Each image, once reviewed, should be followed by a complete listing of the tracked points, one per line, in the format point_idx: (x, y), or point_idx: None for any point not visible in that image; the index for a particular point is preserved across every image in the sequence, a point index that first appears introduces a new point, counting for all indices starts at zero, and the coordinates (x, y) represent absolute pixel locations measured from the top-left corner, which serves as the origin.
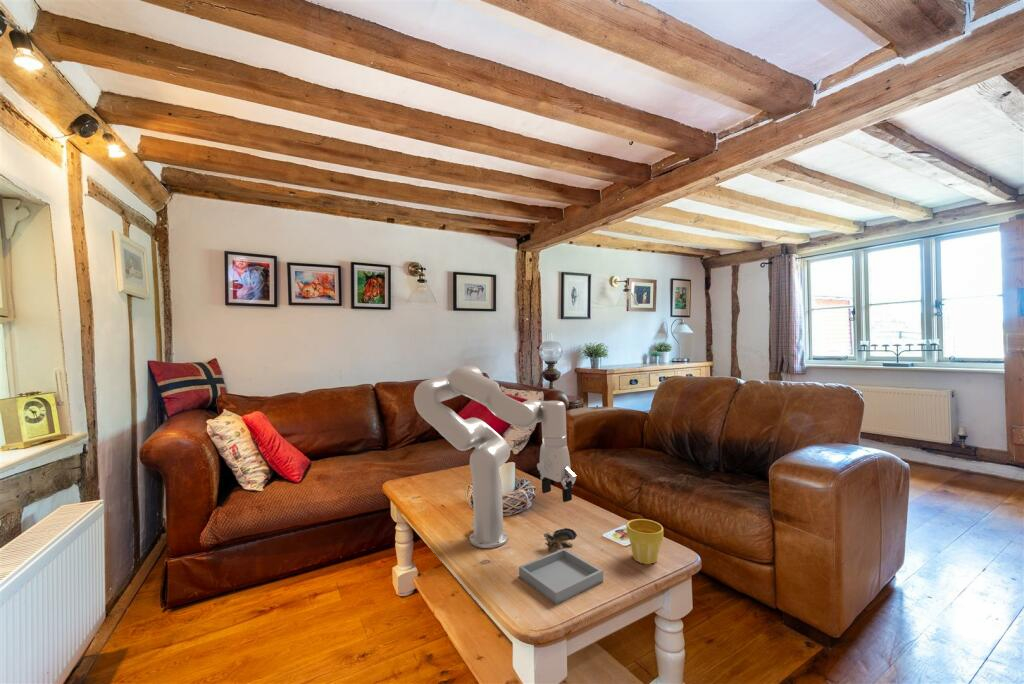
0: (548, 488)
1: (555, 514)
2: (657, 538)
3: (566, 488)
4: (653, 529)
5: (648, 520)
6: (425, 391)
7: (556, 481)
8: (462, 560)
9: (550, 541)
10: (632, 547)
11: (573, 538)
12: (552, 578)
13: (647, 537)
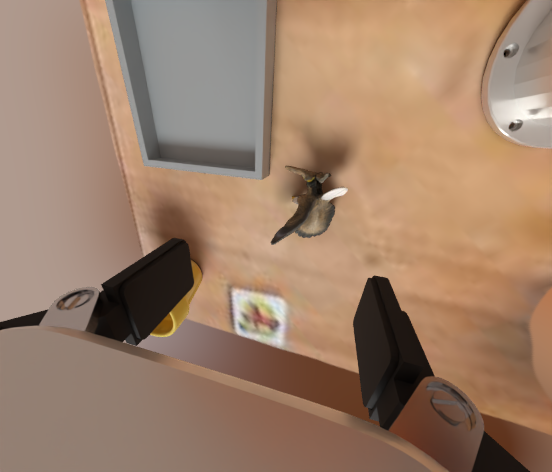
0: (360, 325)
1: (435, 329)
2: None
3: (72, 293)
4: (163, 320)
5: (162, 335)
6: None
7: (72, 329)
8: None
9: (304, 173)
10: None
11: (277, 232)
12: (205, 62)
13: None
